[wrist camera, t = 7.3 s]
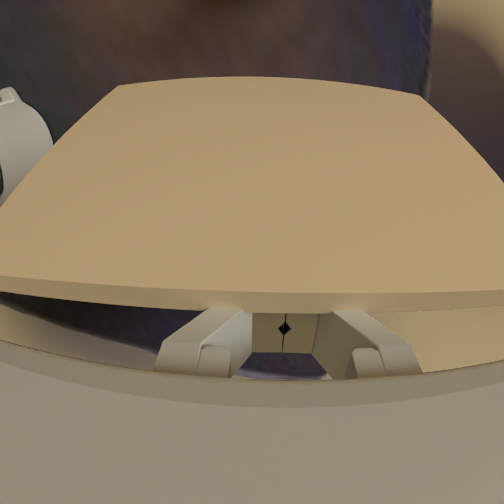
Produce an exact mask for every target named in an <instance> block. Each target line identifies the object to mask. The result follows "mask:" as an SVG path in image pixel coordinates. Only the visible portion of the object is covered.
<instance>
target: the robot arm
mask: <svg viewBox="0 0 504 504" xmlns="http://www.w3.org/2000/svg"><path fill="white" fill-rule="evenodd" d="M1 99H2V101H1ZM52 146H53V142H52V138H51V135H50V132H49V130H48V127H47V125H46V123H45V122H44V120H43V119H42V117H41V116H40V115H39V114H38V112H37V111H36V110H34V109H33V108H32V107H30V106H29V105H27V104H25V103H24V102H22V101H21V100H20V98H19V96H18V94H17V93H16V91H15V90H14V89H13V88H12V87H7V88H4V89H2V90H1V91H0V207H1V206H2V205H3V203H4V202H5V201H6V200H7V198H8V197H9V196H10V195H11V193H12V192H13V191H14V190H15V188H16V187H17V186H18V185H19V183H20V182H21V181H22V180H23V179H24V177H25V176H26V175H27V174H28V173H29V172H30V170H31V169H32V168H33V167H34V166H35V165H36V164H37V163H38V161H39V160H40V159H41V158H42V157H43V156H44V155H45V154H46V153H47V152H48V151H49V150H50V149H51V147H52ZM281 349H282V350H283V352H289V353H312V355H313V356H314V357H315V359H316V360H317V361H318V362H319V363H320V365H321V366H322V367H323V368H324V369H325V370H326V372H327V373H328V374H329V375H330V376H331V377H332V380H259V379H236V378H232V376H233V375H234V374H235V372H236V371H237V370H238V369H239V368H240V367H241V365H242V364H243V363H244V362H245V361H246V359H247V358H248V357H249V356H250V355H251V352H281ZM0 504H504V360H500V361H495V362H490V363H484V364H479V365H474V366H468V367H461V368H455V369H448V370H441V371H434V372H426V373H423V372H422V370H421V368H420V365H419V363H418V361H417V358H416V356H415V353H414V351H413V349H412V347H411V345H410V344H409V343H408V342H406V341H405V340H403V339H402V338H400V337H399V336H398V335H396V334H395V333H393V332H392V331H391V330H389V329H388V328H387V327H385V326H384V325H382V324H381V323H379V322H378V321H377V320H375V319H374V318H372V317H371V316H370V315H368V314H367V313H365V312H364V311H363V310H355V311H331V313H330V314H304V313H250V312H244V311H243V309H228V308H208V309H207V310H206V311H204V312H203V313H201V314H200V315H199V316H197V317H196V318H194V319H193V320H192V321H190V322H189V323H187V324H186V325H185V326H183V327H182V328H180V329H179V330H178V331H176V332H175V333H173V334H172V335H171V336H169V337H168V338H166V339H165V340H164V341H163V343H162V346H161V349H160V351H159V354H158V357H157V360H156V363H155V366H154V369H153V371H149V370H141V369H134V368H128V367H121V366H115V365H109V364H103V363H97V362H92V361H86V360H81V359H76V358H72V357H67V356H62V355H58V354H53V353H49V352H45V351H40V350H36V349H33V348H29V347H25V346H21V345H17V344H14V343H10V342H6V341H3V340H0Z"/></svg>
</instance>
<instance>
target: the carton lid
mask: <svg viewBox="0 0 504 504" xmlns="http://www.w3.org/2000/svg"><path fill="white" fill-rule="evenodd" d="M0 291H4V292H11V293H18V294H25V295H32V296H40V297H48V298H56V299H65V300H74V301H83V302H93V303H103V304H114V305H126V306H138V307H151V308H166V309H182V310H200V311H206V310H207V309H208V308H228V309H243V311H244V312H250V313H304V314H330V313H331V311H355V310H363V311H364V312H365V313H386V312H387V313H388V312H416V311H436V310H453V309H468V308H481V307H494V306H504V183H503V182H502V181H501V179H500V178H499V177H498V176H497V175H496V173H495V172H494V171H493V170H492V168H490V166H489V165H488V164H487V163H486V162H485V160H484V159H483V158H482V157H481V156H480V155H479V154H478V153H477V152H476V150H475V149H474V148H473V147H472V146H471V145H470V144H469V143H468V142H467V141H466V140H465V139H464V138H463V137H462V136H461V135H460V134H459V133H458V131H457V130H456V129H455V128H453V126H452V125H450V124H449V123H448V122H447V121H446V120H445V119H444V118H443V117H442V116H441V115H440V114H439V113H438V112H437V111H436V110H435V109H433V108H432V107H431V106H430V105H429V104H428V103H427V102H426V101H425V100H424V99H422V98H421V97H420V96H419V95H414V94H410V93H405V92H399V91H394V90H389V89H383V88H377V87H371V86H364V85H357V84H349V83H341V82H332V81H322V80H311V79H297V78H278V77H207V78H188V79H174V80H163V81H153V82H144V83H136V84H128V85H121V86H118V87H116V88H115V89H114V90H113V91H111V92H110V93H109V94H108V95H107V96H105V97H104V98H103V99H102V100H101V101H100V102H99V103H97V104H96V105H95V106H94V107H93V108H92V109H91V110H90V111H88V112H87V113H86V114H85V115H84V116H83V117H82V118H81V119H80V120H79V121H78V122H77V123H75V124H74V125H73V126H72V127H71V128H70V129H69V130H68V131H67V132H66V133H65V134H64V135H63V136H62V137H61V138H60V139H59V140H58V141H57V142H56V143H55V144H54V145H53V146H52V147H51V149H50V150H49V151H48V152H47V153H46V154H45V155H44V156H43V157H42V158H41V159H40V160H39V161H38V163H37V164H36V165H35V166H34V167H33V168H32V169H31V170H30V172H29V173H28V174H27V175H26V176H25V177H24V179H23V180H22V181H21V182H20V183H19V185H18V186H17V187H16V188H15V190H14V191H13V192H12V193H11V195H10V196H9V197H8V198H7V200H6V201H5V202H4V203H3V205H2V206H1V207H0Z"/></svg>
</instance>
